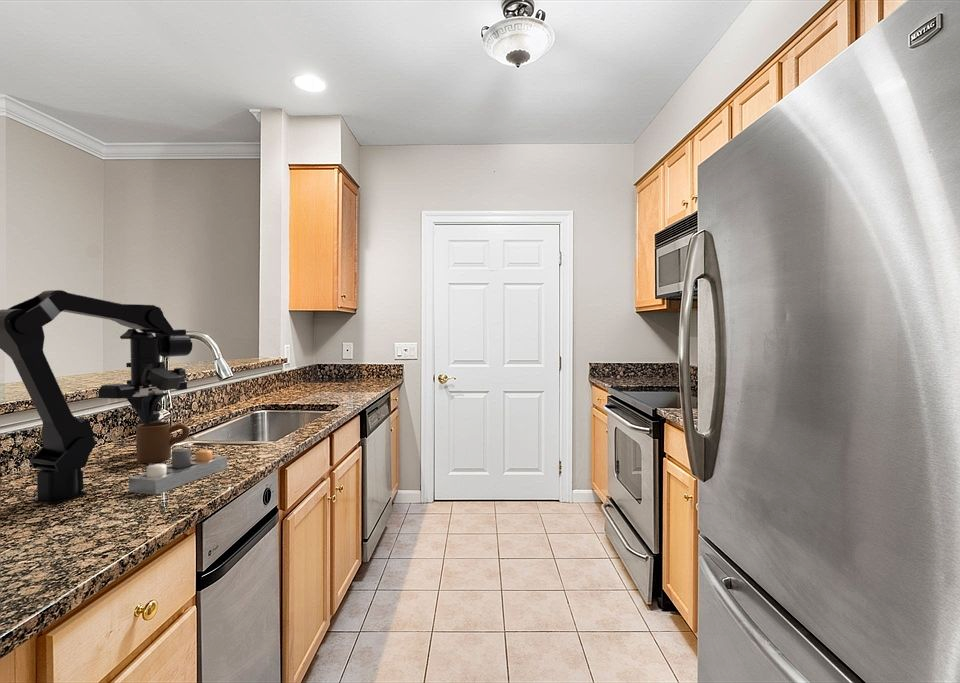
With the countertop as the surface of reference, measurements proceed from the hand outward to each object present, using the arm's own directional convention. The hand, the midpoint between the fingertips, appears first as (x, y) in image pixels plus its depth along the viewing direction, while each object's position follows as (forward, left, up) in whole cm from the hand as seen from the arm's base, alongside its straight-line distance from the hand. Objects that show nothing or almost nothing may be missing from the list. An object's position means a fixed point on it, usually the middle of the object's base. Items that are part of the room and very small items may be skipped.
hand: (146, 423), depth 117 cm
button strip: (-1, -12, -12) cm, 17 cm away
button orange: (+5, -12, -12) cm, 17 cm away
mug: (+12, +8, -12) cm, 19 cm away
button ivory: (-8, -12, -12) cm, 18 cm away
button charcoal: (-1, -12, -10) cm, 15 cm away
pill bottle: (+17, +18, -12) cm, 28 cm away
